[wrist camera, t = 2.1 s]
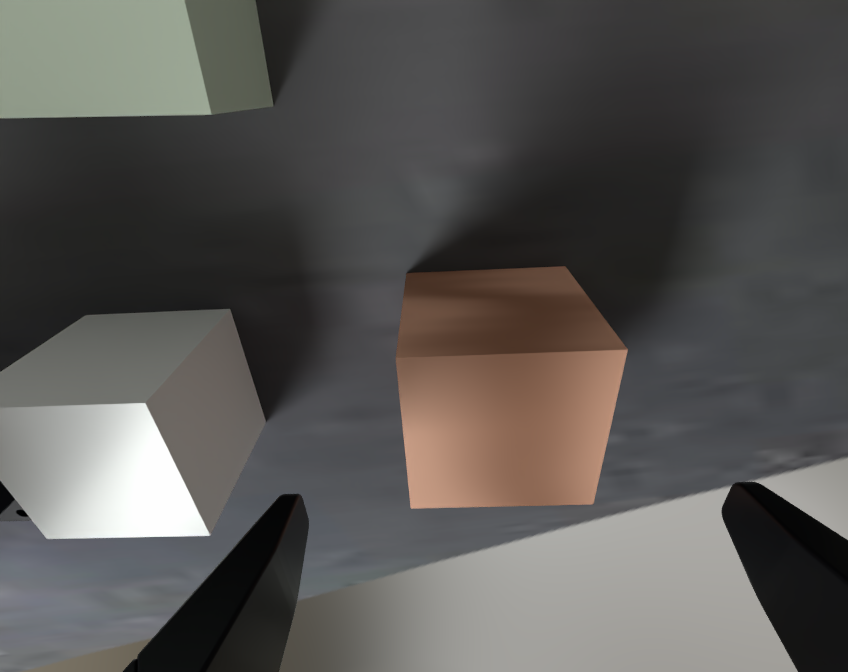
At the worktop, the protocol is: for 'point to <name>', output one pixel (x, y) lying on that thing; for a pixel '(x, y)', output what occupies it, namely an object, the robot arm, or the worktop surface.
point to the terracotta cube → (504, 388)
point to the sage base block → (130, 58)
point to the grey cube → (129, 425)
